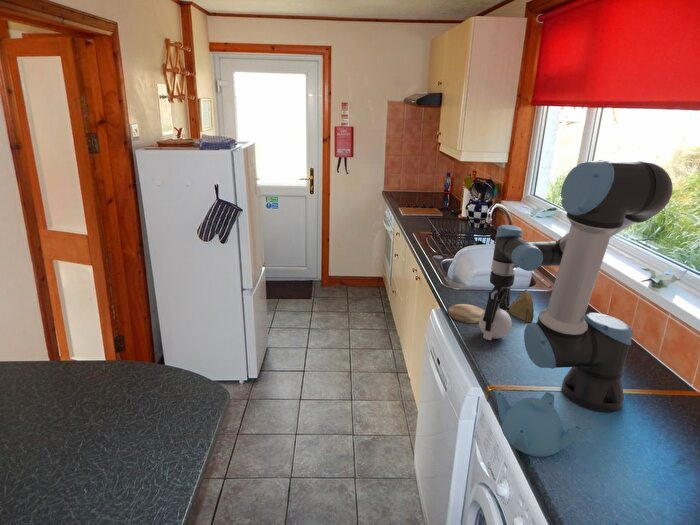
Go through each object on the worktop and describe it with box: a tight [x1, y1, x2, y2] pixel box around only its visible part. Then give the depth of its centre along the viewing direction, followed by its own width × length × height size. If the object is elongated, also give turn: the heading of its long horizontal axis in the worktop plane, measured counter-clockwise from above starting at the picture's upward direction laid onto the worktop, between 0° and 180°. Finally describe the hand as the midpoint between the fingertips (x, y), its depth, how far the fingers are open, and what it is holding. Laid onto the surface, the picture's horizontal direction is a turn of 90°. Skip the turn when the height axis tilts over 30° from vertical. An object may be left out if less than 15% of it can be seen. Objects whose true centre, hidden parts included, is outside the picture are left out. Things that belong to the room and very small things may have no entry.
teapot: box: [495, 391, 583, 458], centre depth 109 cm, size 15×15×11 cm
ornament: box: [478, 307, 513, 339], centre depth 157 cm, size 10×10×12 cm
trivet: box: [447, 303, 485, 324], centre depth 174 cm, size 14×14×1 cm
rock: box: [508, 289, 535, 323], centre depth 173 cm, size 11×9×10 cm
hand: (493, 332), depth 158 cm, fingers closed on ornament, 10 cm apart
